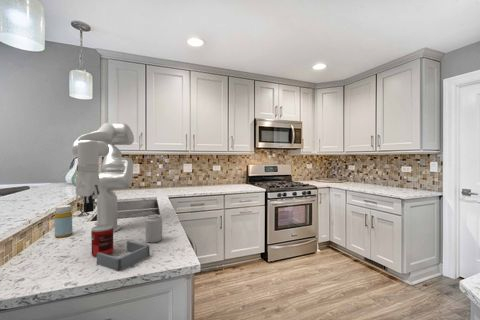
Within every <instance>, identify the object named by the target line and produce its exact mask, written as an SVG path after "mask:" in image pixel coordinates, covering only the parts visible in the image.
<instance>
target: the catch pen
mask: <svg viewBox="0 0 480 320" xmlns="http://www.w3.org/2000/svg"><path fill="white" fill-rule="evenodd" d="M126 252H128V253H127V254H125V255H123V256H120V257H117V256H113V255H111V254H110V255H107V254H103V253H100V252H99V253H97V257H96V265H99V266H102V267H105V268H108V269H111V270H113V271H114V270H115V271H117V272H119V271H121V270H123V269H125V268H127V267H129V266H131V265H133V264H135V263H137V262H139V261H141V260H143V259H146V258H148V257H149V256H150V255H151V254H150V245H147V244H144V243H139V242H134V241H131V240H128V241H126Z"/></svg>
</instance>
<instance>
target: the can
mask: <svg viewBox="0 0 480 320" xmlns="http://www.w3.org/2000/svg"><path fill="white" fill-rule="evenodd" d="M144 221H145V222H144V223H145V224H144V225H145V226H144V228H145V232H144V233H145V241H146V242H148V244H149V243H150V244H151V243H154V244H155V243H158V242H160V241H162V239H163V218H162V217H161V214H155V213H154V214H149V215H147V216H146V218H145V220H144Z"/></svg>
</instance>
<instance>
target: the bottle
mask: <svg viewBox="0 0 480 320" xmlns="http://www.w3.org/2000/svg"><path fill="white" fill-rule="evenodd" d="M72 234H73V213H72V205H71V204H62V205H57V206H55V215H54V237H55V238H57V239H62V238H67V237H70V236H71V235H72Z"/></svg>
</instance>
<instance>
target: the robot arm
mask: <svg viewBox="0 0 480 320" xmlns="http://www.w3.org/2000/svg"><path fill="white" fill-rule="evenodd" d="M134 142H135V135H134V133H133V131H132V129H131V127H130V126H129V125H128V124H127V123H125V122H105V123H103V124H102V125H101V126H100V127H99V128H98V129H97V130H96V131H95V130H94V131H92V132H89V133H85V134H82V135H80V136H79V137H77V139H75V141H73V143H72V146H71V152H72V154H73V155H74V156H75V157H77V173H76V179H75V195H76V196H79V197H80V198H81V199H82V203H83V213H86V214H87V213H93V212H94V210H95V209H94V206H95V205H94V202H95V200H96V222H94V225H95V226H99V225H113V233H115V232H118V231H119V230H121V229H122V227H121V225H118V196H117V195H116V193H115V192H114V191H115V190H127V189H130V187H131V184H132V179H133V173H134V161H133V159H132V158H130V157H127V156H125V157H122V156H123V155H122V154H123V153H122V151H121V150H120V148H118V147H117V146H131V145H133V143H134ZM99 158H103V161H102V163H101V164H102V165H101V170H102V172H100V170H99V169H100V167H99V165H100V162H99Z"/></svg>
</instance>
